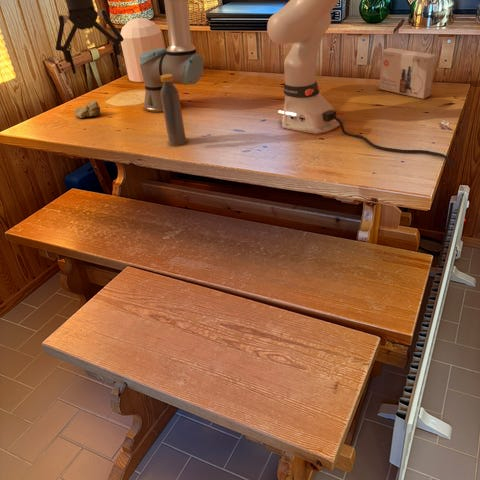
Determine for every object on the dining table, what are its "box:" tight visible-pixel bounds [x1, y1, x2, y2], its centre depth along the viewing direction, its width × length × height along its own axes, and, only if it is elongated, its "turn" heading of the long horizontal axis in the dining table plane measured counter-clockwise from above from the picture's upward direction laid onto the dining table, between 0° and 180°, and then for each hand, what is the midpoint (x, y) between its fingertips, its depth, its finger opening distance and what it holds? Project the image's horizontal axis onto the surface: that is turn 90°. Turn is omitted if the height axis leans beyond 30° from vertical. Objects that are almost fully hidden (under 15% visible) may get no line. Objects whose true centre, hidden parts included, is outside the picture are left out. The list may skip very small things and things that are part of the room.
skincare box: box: [378, 47, 437, 100], centre depth 184 cm, size 21×6×16 cm, turn 40°
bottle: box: [160, 81, 187, 147], centre depth 159 cm, size 6×6×23 cm
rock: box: [75, 99, 101, 119], centre depth 197 cm, size 11×6×10 cm
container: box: [119, 17, 165, 83], centre depth 235 cm, size 21×21×28 cm
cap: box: [160, 74, 173, 82], centre depth 153 cm, size 4×4×2 cm
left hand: (96, 69), depth 146 cm, fingers open, 13 cm apart
